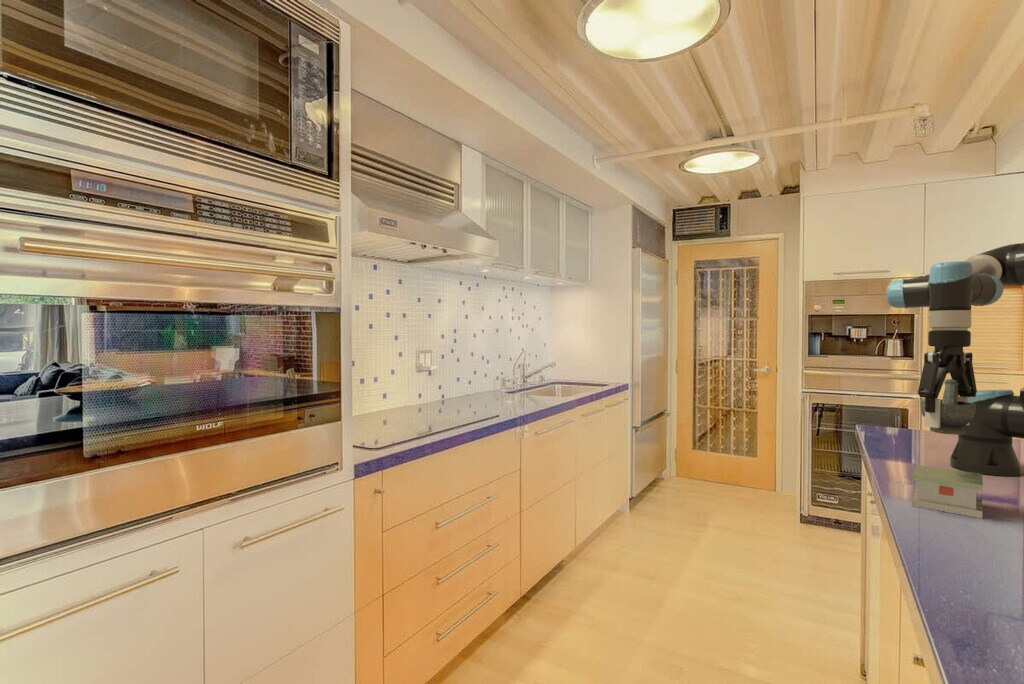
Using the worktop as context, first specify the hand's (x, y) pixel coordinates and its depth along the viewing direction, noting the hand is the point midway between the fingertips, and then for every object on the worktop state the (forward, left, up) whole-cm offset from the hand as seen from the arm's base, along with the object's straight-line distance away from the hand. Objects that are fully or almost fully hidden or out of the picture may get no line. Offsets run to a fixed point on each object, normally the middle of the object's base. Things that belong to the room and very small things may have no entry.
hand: (947, 425), depth 120 cm
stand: (+1, 0, -18) cm, 18 cm away
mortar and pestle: (0, 0, -2) cm, 2 cm away
